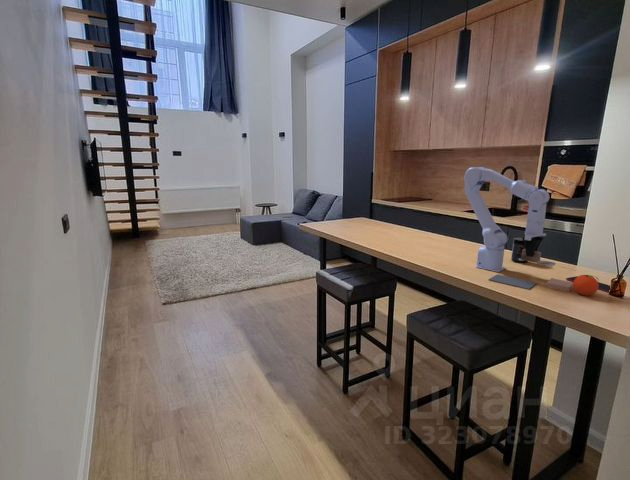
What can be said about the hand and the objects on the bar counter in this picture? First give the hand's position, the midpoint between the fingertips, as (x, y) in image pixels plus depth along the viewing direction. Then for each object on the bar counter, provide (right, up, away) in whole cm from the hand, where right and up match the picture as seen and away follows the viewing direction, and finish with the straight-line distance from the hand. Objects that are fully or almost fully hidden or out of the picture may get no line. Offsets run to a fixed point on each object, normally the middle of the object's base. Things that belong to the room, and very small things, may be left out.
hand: (530, 255), depth 138 cm
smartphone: (+18, -11, -8) cm, 22 cm away
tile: (+2, -10, -8) cm, 13 cm away
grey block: (+2, -3, -1) cm, 3 cm away
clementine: (+8, -13, -18) cm, 23 cm away
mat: (-10, -10, -5) cm, 15 cm away
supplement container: (+8, -4, +22) cm, 24 cm away
